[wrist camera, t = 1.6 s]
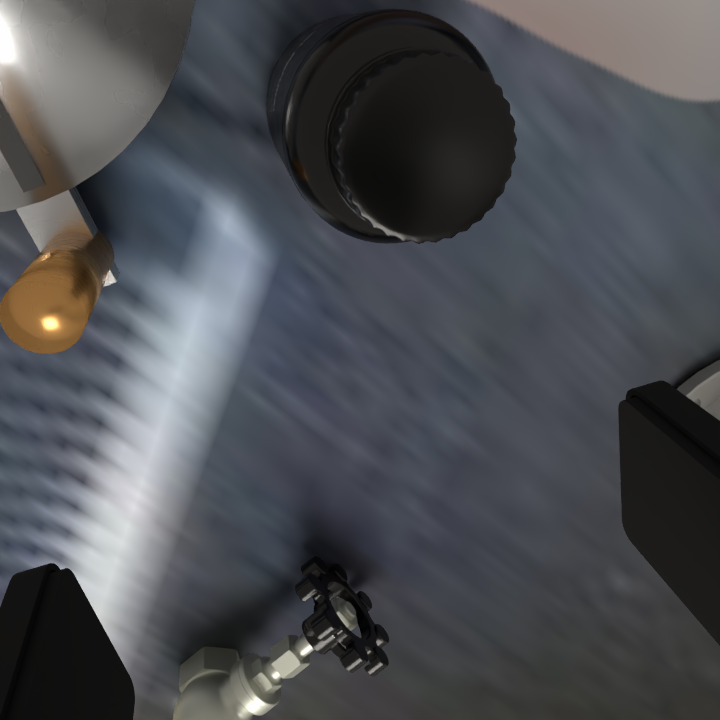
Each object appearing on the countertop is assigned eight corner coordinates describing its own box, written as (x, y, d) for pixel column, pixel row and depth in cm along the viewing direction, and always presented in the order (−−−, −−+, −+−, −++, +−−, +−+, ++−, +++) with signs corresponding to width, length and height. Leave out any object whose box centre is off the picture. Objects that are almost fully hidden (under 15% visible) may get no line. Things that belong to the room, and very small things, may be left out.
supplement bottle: (252, 23, 26) (281, 5, 15) (424, 10, 27) (566, -15, 16) (275, 203, 29) (313, 295, 18) (428, 185, 30) (551, 262, 19)
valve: (226, 710, 41) (375, 593, 39) (229, 821, 35) (405, 689, 33) (143, 662, 38) (301, 534, 36) (132, 775, 32) (318, 627, 30)
